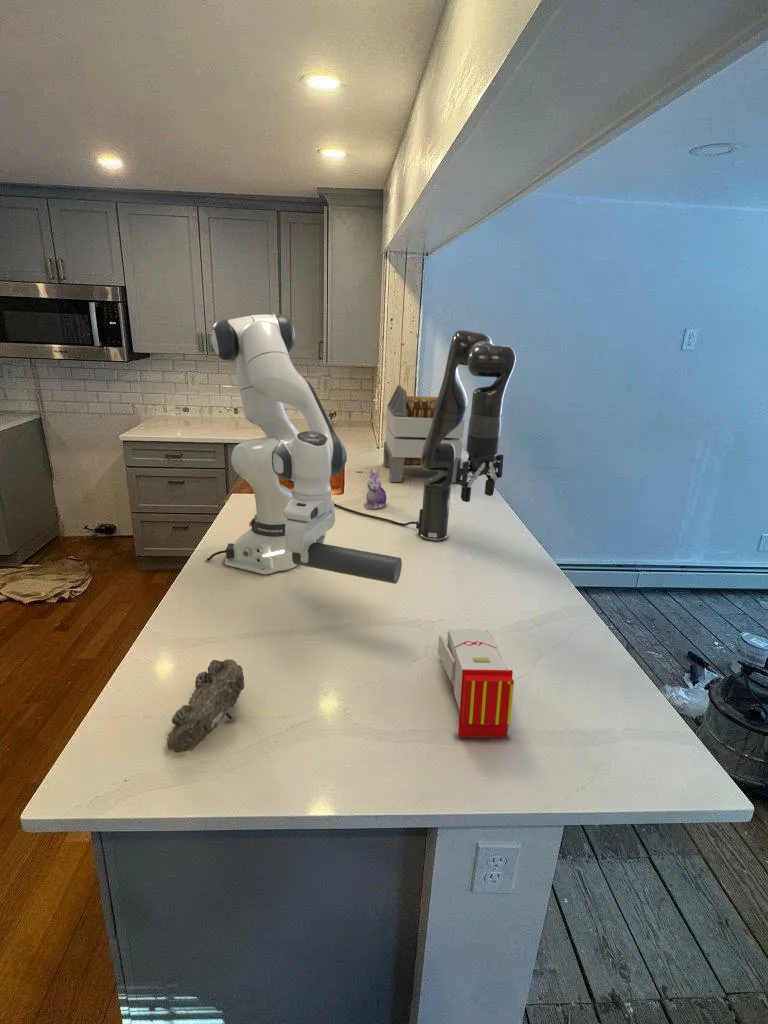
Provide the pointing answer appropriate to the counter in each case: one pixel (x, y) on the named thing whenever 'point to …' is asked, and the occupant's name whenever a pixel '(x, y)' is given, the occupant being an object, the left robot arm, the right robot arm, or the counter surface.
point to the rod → (352, 562)
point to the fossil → (206, 705)
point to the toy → (478, 682)
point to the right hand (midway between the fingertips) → (477, 498)
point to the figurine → (375, 491)
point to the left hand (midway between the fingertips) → (312, 555)
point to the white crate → (412, 432)
